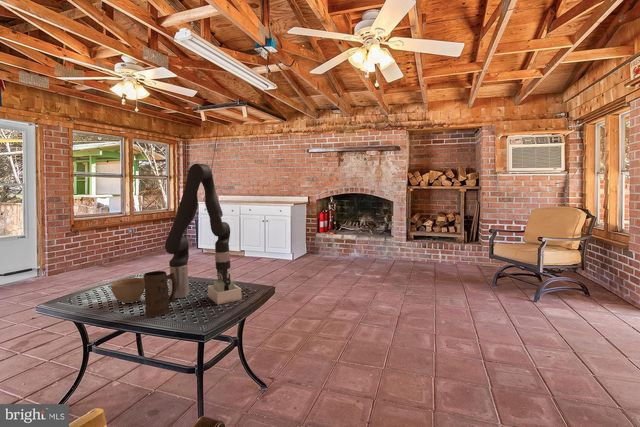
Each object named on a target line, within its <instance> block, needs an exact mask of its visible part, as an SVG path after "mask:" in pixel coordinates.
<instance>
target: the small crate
mask: <svg viewBox="0 0 640 427" xmlns="http://www.w3.org/2000/svg"><path fill="white" fill-rule="evenodd" d="M224 280H225V279H224ZM234 284H235V279H233V278H231V277H230V285H229V290H234V289H235V285H236V284H235V285H234ZM213 285H214V290H216V291H217V292H218V293H219V292H224V282H222V279H221V280H218V279H217V280H213Z"/></svg>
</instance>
